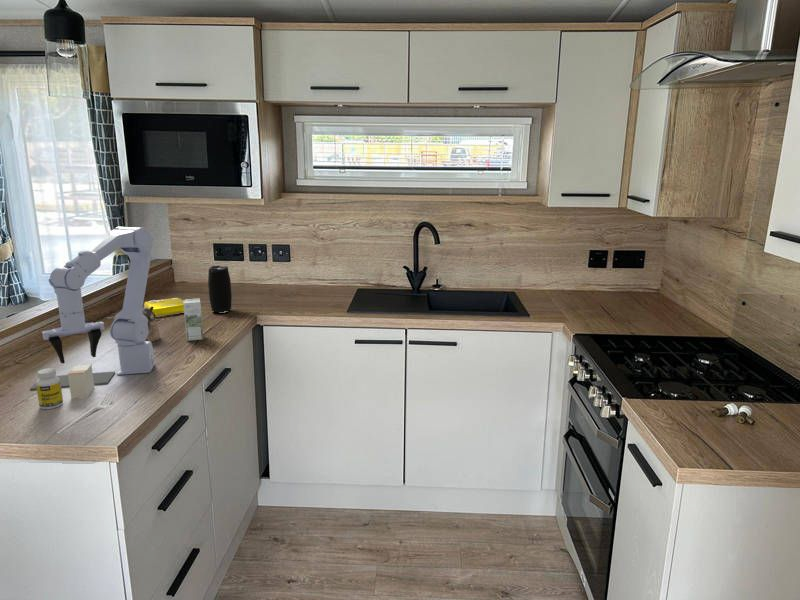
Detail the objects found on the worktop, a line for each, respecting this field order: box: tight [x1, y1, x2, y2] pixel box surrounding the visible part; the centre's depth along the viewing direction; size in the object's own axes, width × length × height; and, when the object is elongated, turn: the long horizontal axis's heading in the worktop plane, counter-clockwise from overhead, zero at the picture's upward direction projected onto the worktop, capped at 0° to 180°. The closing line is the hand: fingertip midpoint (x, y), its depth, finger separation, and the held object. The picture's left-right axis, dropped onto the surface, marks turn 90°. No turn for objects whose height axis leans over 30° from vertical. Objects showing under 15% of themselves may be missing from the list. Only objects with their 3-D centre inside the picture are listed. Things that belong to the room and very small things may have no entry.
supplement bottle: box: [35, 367, 64, 410], centre depth 149 cm, size 5×5×10 cm
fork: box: [56, 393, 116, 434], centre depth 144 cm, size 3×20×2 cm, turn 171°
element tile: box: [143, 297, 184, 316], centre depth 243 cm, size 15×15×5 cm
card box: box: [67, 364, 95, 399], centre depth 157 cm, size 4×7×7 cm, turn 13°
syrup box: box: [182, 298, 204, 342], centre depth 204 cm, size 6×6×14 cm
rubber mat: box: [29, 370, 116, 391], centre depth 166 cm, size 20×9×1 cm, turn 104°
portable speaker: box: [207, 265, 233, 313], centre depth 240 cm, size 9×9×20 cm
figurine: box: [142, 306, 161, 342], centre depth 204 cm, size 7×7×12 cm
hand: (78, 359), depth 156 cm, fingers open, 7 cm apart
